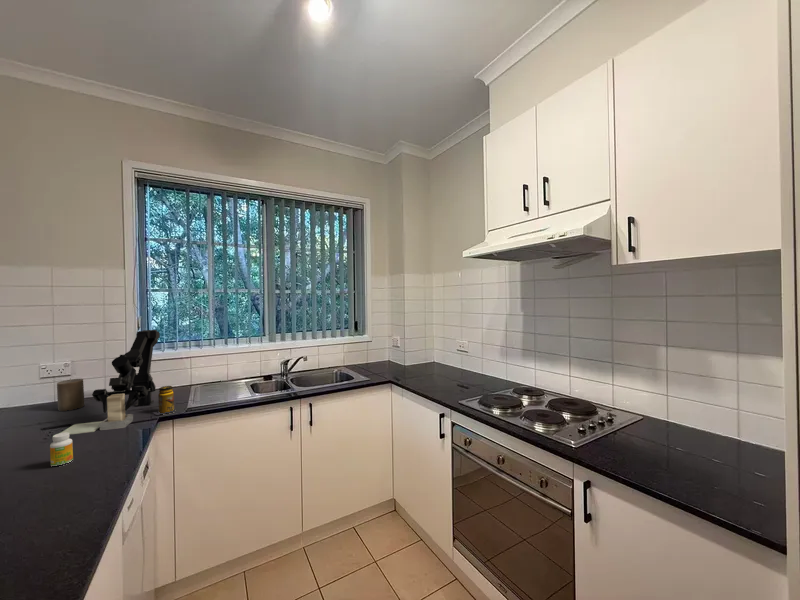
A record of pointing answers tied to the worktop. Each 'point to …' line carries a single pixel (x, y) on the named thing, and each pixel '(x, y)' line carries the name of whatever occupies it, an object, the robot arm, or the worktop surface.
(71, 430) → the mat
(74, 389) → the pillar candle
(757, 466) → the worktop surface
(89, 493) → the worktop surface
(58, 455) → the supplement bottle
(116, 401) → the block
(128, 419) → the collar
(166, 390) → the condiment
